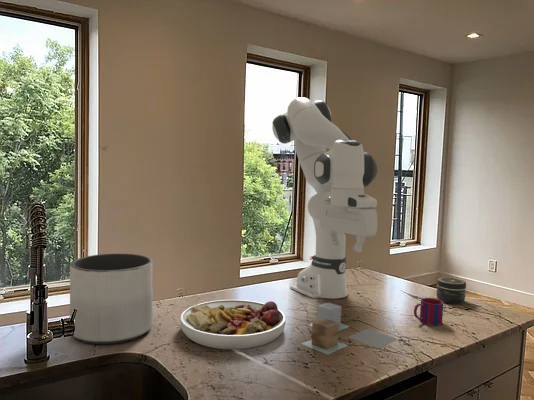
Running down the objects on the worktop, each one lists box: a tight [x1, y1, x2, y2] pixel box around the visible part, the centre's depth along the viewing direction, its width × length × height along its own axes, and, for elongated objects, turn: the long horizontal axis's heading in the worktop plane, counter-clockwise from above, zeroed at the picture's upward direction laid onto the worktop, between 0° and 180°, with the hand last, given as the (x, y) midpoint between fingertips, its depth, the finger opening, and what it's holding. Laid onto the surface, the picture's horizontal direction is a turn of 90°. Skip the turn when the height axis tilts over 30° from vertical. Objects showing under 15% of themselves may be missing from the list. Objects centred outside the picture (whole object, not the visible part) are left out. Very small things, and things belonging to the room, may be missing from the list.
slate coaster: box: [347, 328, 398, 350], centre depth 127 cm, size 10×10×1 cm
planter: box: [69, 253, 154, 345], centre depth 127 cm, size 22×22×20 cm
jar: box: [436, 276, 467, 305], centre depth 166 cm, size 10×10×8 cm
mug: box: [413, 297, 444, 327], centre depth 143 cm, size 7×10×7 cm
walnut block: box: [311, 318, 339, 350], centre depth 121 cm, size 5×5×6 cm
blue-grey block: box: [316, 302, 342, 326], centre depth 135 cm, size 5×5×6 cm
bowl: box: [179, 299, 286, 351], centre depth 130 cm, size 30×30×8 cm
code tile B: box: [308, 322, 351, 332], centre depth 135 cm, size 9×9×1 cm
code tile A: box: [300, 338, 349, 356], centre depth 121 cm, size 9×9×1 cm
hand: (346, 249), depth 125 cm, fingers open, 8 cm apart
